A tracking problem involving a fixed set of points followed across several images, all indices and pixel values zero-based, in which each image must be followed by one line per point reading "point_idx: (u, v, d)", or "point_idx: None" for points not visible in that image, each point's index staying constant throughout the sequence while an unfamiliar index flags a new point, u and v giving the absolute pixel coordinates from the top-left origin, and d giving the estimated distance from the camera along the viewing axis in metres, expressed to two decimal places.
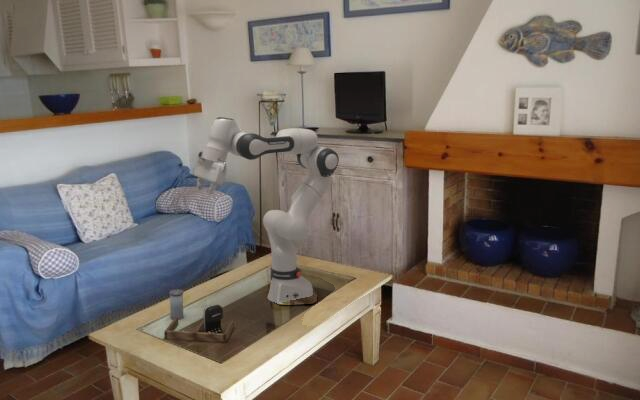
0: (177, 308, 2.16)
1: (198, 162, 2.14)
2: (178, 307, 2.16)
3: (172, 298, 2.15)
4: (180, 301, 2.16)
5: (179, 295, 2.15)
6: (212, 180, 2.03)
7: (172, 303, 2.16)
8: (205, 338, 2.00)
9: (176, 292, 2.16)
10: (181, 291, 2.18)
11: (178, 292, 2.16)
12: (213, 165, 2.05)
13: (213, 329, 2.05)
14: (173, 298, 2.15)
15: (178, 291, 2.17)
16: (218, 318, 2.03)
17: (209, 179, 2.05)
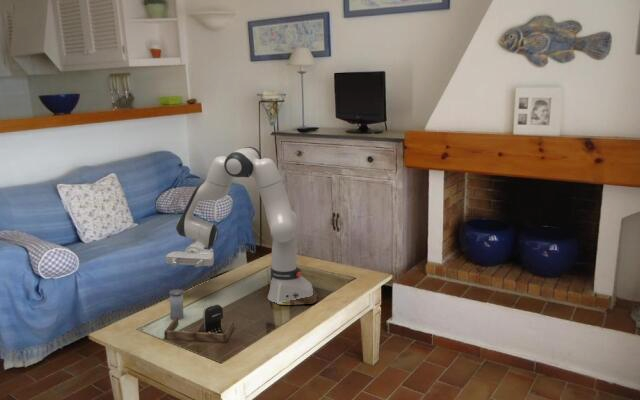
0: (177, 308, 2.16)
1: None
2: (178, 307, 2.16)
3: (172, 298, 2.15)
4: (180, 301, 2.16)
5: (179, 295, 2.15)
6: None
7: (172, 303, 2.16)
8: (205, 338, 2.00)
9: (176, 292, 2.16)
10: (181, 291, 2.18)
11: (178, 292, 2.16)
12: None
13: (213, 329, 2.05)
14: (173, 298, 2.15)
15: (178, 291, 2.17)
16: (218, 318, 2.03)
17: None
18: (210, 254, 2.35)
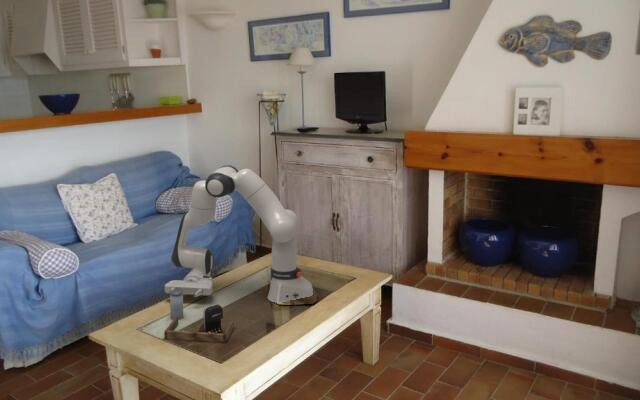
0: (177, 308, 2.16)
1: None
2: (178, 307, 2.16)
3: (172, 298, 2.15)
4: (180, 301, 2.16)
5: (179, 295, 2.15)
6: None
7: (172, 303, 2.16)
8: (205, 338, 2.00)
9: (176, 292, 2.16)
10: (181, 291, 2.18)
11: (178, 292, 2.16)
12: None
13: (213, 329, 2.05)
14: (173, 298, 2.15)
15: (178, 291, 2.17)
16: (218, 318, 2.03)
17: None
18: (209, 283, 2.35)
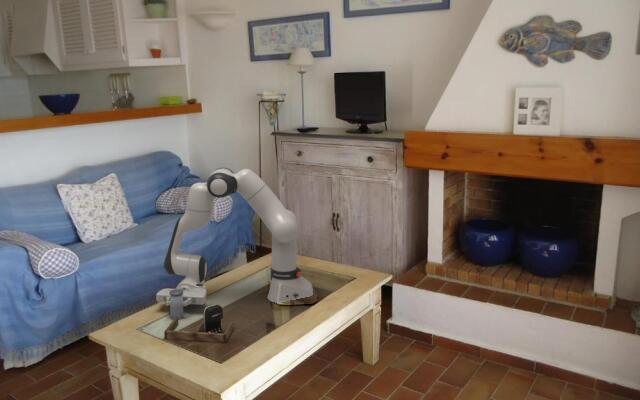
0: (177, 308, 2.16)
1: None
2: (178, 307, 2.16)
3: (172, 298, 2.15)
4: (180, 301, 2.16)
5: (179, 295, 2.15)
6: None
7: (172, 303, 2.16)
8: (205, 338, 2.00)
9: (176, 292, 2.16)
10: (181, 291, 2.18)
11: (178, 292, 2.16)
12: None
13: (213, 329, 2.05)
14: (173, 298, 2.15)
15: (178, 291, 2.17)
16: (218, 318, 2.03)
17: None
18: (202, 292, 2.25)
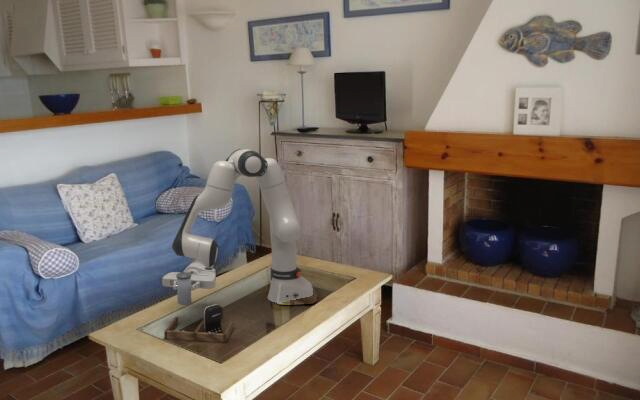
0: (185, 292, 2.01)
1: None
2: (186, 291, 2.01)
3: (179, 281, 2.01)
4: (188, 285, 2.02)
5: (187, 278, 2.01)
6: None
7: (179, 287, 2.01)
8: (205, 338, 2.00)
9: (184, 275, 2.02)
10: (189, 274, 2.03)
11: (186, 275, 2.02)
12: None
13: (213, 329, 2.05)
14: (181, 282, 2.00)
15: (186, 274, 2.03)
16: (218, 318, 2.03)
17: None
18: (212, 275, 2.10)
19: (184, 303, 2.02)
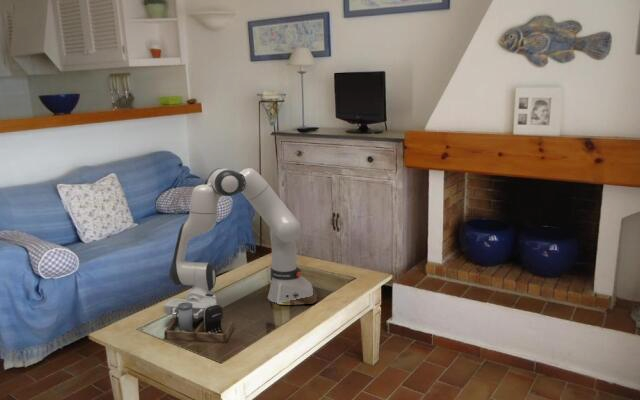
0: (186, 323, 2.03)
1: None
2: (187, 321, 2.04)
3: (181, 312, 2.03)
4: (189, 315, 2.04)
5: (188, 309, 2.03)
6: None
7: (181, 317, 2.03)
8: (205, 338, 2.00)
9: (185, 306, 2.04)
10: (190, 304, 2.05)
11: (187, 306, 2.04)
12: None
13: (213, 329, 2.05)
14: (182, 312, 2.02)
15: (187, 304, 2.05)
16: (218, 318, 2.03)
17: None
18: (212, 302, 2.12)
19: None
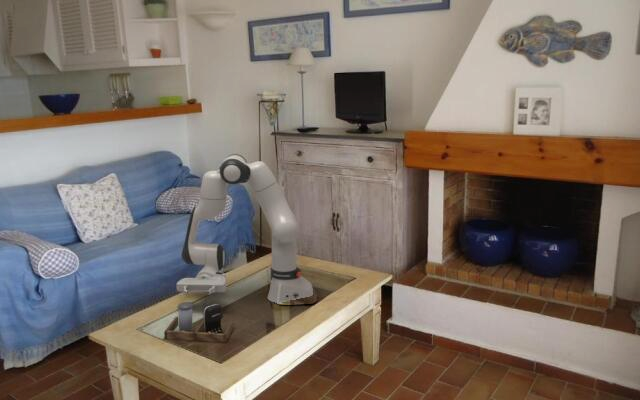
0: (186, 323, 2.03)
1: None
2: (187, 321, 2.04)
3: (181, 312, 2.03)
4: (189, 315, 2.04)
5: (188, 309, 2.03)
6: None
7: (181, 317, 2.03)
8: (205, 338, 2.00)
9: (185, 305, 2.04)
10: (190, 304, 2.05)
11: (187, 305, 2.04)
12: None
13: (213, 329, 2.05)
14: (182, 312, 2.02)
15: (187, 304, 2.05)
16: (218, 318, 2.03)
17: None
18: (222, 279, 2.24)
19: None
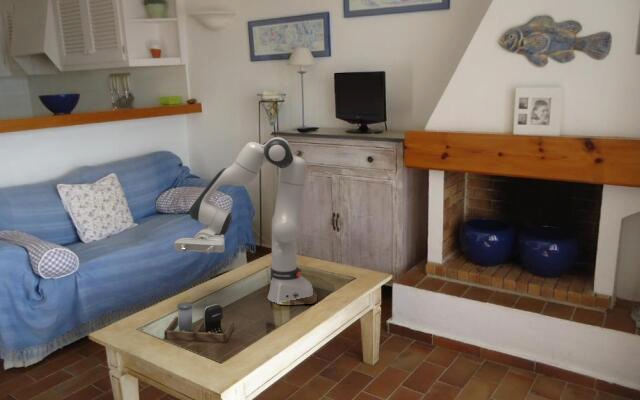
0: (186, 322, 2.03)
1: None
2: (187, 321, 2.04)
3: (181, 312, 2.03)
4: (189, 315, 2.04)
5: (188, 309, 2.03)
6: (180, 250, 2.20)
7: (181, 317, 2.03)
8: (205, 338, 2.00)
9: (185, 305, 2.04)
10: (190, 304, 2.05)
11: (187, 305, 2.04)
12: None
13: (213, 329, 2.05)
14: (182, 312, 2.02)
15: (187, 304, 2.05)
16: (218, 318, 2.03)
17: (187, 250, 2.20)
18: (221, 240, 2.22)
19: None
